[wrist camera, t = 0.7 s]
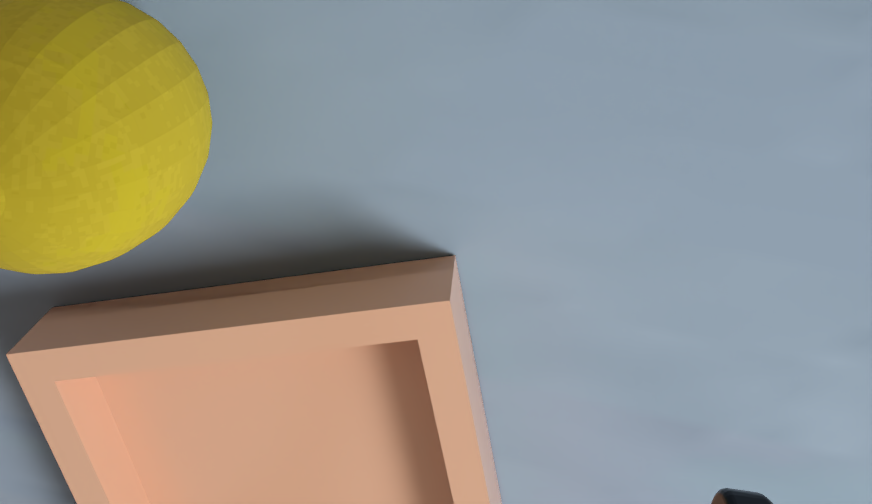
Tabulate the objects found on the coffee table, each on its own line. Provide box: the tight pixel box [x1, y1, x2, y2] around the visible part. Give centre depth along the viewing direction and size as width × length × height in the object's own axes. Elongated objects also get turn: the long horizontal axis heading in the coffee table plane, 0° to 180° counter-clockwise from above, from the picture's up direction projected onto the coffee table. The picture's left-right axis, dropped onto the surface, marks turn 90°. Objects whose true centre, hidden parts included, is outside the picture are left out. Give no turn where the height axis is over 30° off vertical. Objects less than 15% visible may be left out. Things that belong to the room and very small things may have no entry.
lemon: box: [0, 0, 212, 274], centre depth 17 cm, size 6×6×8 cm
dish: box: [6, 255, 502, 504], centre depth 25 cm, size 12×12×2 cm
